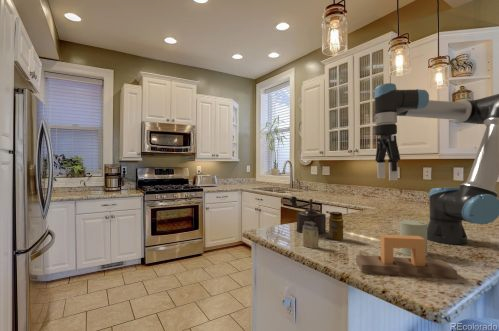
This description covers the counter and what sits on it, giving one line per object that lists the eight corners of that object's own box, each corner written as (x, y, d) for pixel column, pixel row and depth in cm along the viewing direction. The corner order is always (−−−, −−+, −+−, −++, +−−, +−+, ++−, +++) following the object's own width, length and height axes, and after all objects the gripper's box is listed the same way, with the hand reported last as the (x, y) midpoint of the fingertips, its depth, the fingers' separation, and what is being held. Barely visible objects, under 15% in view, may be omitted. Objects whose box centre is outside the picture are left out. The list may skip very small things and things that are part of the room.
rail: (441, 267, 87) (441, 259, 87) (456, 279, 78) (456, 270, 78) (356, 262, 92) (356, 254, 92) (361, 272, 84) (361, 264, 84)
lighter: (320, 247, 109) (320, 222, 109) (314, 249, 107) (314, 224, 107) (305, 243, 114) (305, 220, 114) (300, 245, 112) (300, 221, 112)
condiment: (347, 239, 120) (347, 212, 120) (334, 242, 116) (334, 214, 116) (334, 236, 126) (334, 210, 126) (321, 239, 122) (321, 212, 122)
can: (428, 258, 96) (428, 224, 96) (398, 254, 101) (398, 222, 101) (427, 251, 104) (427, 220, 104) (399, 247, 108) (399, 217, 108)
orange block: (419, 268, 86) (419, 236, 86) (425, 273, 82) (425, 239, 82) (380, 266, 89) (380, 234, 89) (384, 271, 85) (384, 237, 85)
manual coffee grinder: (310, 228, 142) (310, 194, 142) (326, 232, 133) (326, 196, 133) (287, 232, 134) (287, 196, 134) (303, 237, 124) (302, 198, 124)
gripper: (367, 129, 118) (368, 177, 118) (386, 120, 93) (387, 181, 94) (385, 128, 117) (386, 177, 117) (409, 119, 92) (411, 181, 92)
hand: (387, 179), depth 105 cm, fingers open, 13 cm apart
